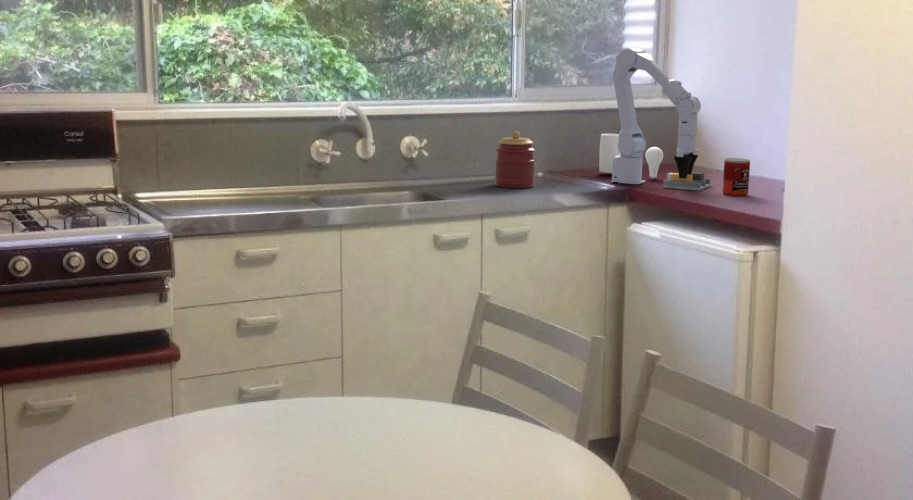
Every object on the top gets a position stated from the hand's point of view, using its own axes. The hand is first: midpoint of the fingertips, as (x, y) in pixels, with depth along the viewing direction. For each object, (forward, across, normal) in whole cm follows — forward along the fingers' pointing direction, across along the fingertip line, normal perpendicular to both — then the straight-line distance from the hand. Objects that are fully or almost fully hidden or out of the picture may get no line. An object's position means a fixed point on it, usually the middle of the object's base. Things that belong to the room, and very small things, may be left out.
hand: (684, 177), depth 350 cm
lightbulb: (+4, +17, +16) cm, 24 cm away
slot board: (+3, +3, 0) cm, 4 cm away
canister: (+4, -27, +48) cm, 55 cm away
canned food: (+4, -7, -18) cm, 20 cm away
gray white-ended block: (+3, +6, 0) cm, 6 cm away
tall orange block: (+3, 0, +2) cm, 3 cm away
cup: (+4, +19, +32) cm, 38 cm away
